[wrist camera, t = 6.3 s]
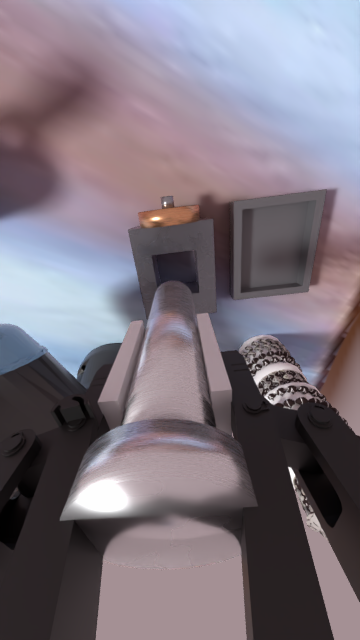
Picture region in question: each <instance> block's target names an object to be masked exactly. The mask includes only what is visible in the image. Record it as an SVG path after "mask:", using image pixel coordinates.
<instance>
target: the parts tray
mask: <svg viewBox="0 0 360 640" xmlns="http://www.w3.org/2000/svg"><path fill="white" fill-rule="evenodd" d="M326 190H327V189H325V190H318V191H310V192H303V193H295V194H287V195H280V196H272V197H264V198H257V199H249V200H242V201H234V202H230V295H231V297H232V298H233V300H239V299H248V298H257V297H267V296H276V295H285V294H294V293H303V292H308V291H309V286H310V280H311V274H312V269H313V263H314V258H315V252H316V246H317V241H318V235H319V230H320V224H321V218H322V213H323V207H324V202H325V196H326Z"/></svg>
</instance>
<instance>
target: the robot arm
mask: <svg viewBox="0 0 360 640" xmlns="http://www.w3.org/2000/svg"><path fill="white" fill-rule="evenodd" d="M196 316H197V327H198V332H199V338H200V343H201V349H202V354H203V360H204V365H205V371H206V376H207V382H208V387H209V393H210V398H211V404H212V409H213V412H214V417H215V422H216V428H217V429H219V430H222V431H224V432H225V433H227V434H229V435H230V436H232V432H233V436H234V439H236V440H237V441H238V442H239V443H240V444H241V446H242V450H243V454H244V457H245V461H246V464H247V468H248V472H249V475H250V479H251V482H252V486H253V490H254V493H255V497H256V500H257V504H258V506H257V507H243V517H242V538H241V556H242V572H243V587H244V603H245V619H246V634H247V640H334V638H333V634H332V630H331V626H330V623H329V619H328V616H327V612H326V608H325V604H324V600H323V596H322V593H321V589H320V585H319V581H318V577H317V574H316V570H315V566H314V562H313V559H312V555H311V551H310V547H309V544H308V540H307V536H306V532H305V529H304V525H303V521H302V517H301V514H300V510H299V506H298V502H297V498H296V495H295V491H294V487H293V483H292V479H291V476H290V472H289V468H288V467H290V468H292V470H293V472H294V474H295V476H296V478H297V480H298V482H299V484H300V486H301V488H302V490H303V492H304V494H305V496H306V498H307V500H308V502H309V504H310V506H311V507H312V509H313V511H314V513H315V515H316V517H317V519H318V521H319V523H320V525H321V527H322V529H323V531H324V533H325V535H326V537H327V539H328V541H329V543H330V545H331V547H332V549H333V551H334V553H335V555H336V557H337V559H338V561H339V563H340V565H341V566H342V568H343V570H344V572H345V574H346V576H347V578H348V580H349V582H350V584H351V586H352V588H353V590H354V592H355V594H356V596H357V598H358V600H359V602H360V439H359V438H358V437H357V436H356V435H355V433H354V432H353V431H352V430H351V429H350V428H349V427H348V425H347V424H346V423H345V422H344V421H343V420H342V419H341V417H340V416H339V415H338V414H337V413H335V412H334V411H333V410H332V409H330V408H328V407H326V406H325V405H322V404H318V403H312V402H307V403H304V404H301V405H300V407H299V408H298V410H294V409H288V408H283V407H279V406H276V405H273V404H271V403H270V402H269V401H268V400H267V399H266V398H265V397H263V396H262V395H261V393H260V391H259V389H258V387H257V385H256V383H255V381H254V378H253V376H252V374H251V372H250V370H249V368H248V365H247V364H246V361H245V359H244V357H243V355H241V354H240V353H239V352H238V351H237V350H235V351H225V352H220V350H219V346H218V343H217V340H216V337H215V334H214V330H213V327H212V324H211V321H210V318H209V314H208V313H202V314H196ZM144 334H145V328H144V324H143V320H139V321H131V323H130V326H129V328H128V330H127V333H126V335H125V338H124V340H123V342H122V344H108V345H103V346H100V347H98V348H96V349H94V350H92V351H91V352H90V353H89V354H88V355H87V356H86V357H85V359H84V361H83V362H82V364H81V365H80V368H79V370H78V374H77V379H76V378H75V377H74V376H73V375H72V374H70V373H69V372H68V371H67V370H66V369H65V368H64V367H63V366H62V365H61V364H60V363H59V362H58V361H57V360H56V359H55V358H54V357H53V356H52V355H51V354H50V353H49V352H48V349H47V348H46V347H44V346H41V345H40V344H38V343H37V342H36V341H35V340H34V339H33V338H32V337H30V336H29V335H28V334H27V333H26V332H25V331H23V330H22V329H21V328H19V327H18V326H15V325H12V324H0V640H95V638H96V628H97V617H98V605H99V595H100V585H101V574H102V564H103V556H102V555H101V554H100V552H99V551H98V550H97V549H96V547H95V546H94V545H93V543H92V542H91V541H90V540H89V538H88V537H87V536H86V535H85V533H84V532H83V531H82V529H81V528H80V527H79V526H78V524H77V523H76V522H75V521H74V520H65V521H60V517H61V514H62V512H63V509H64V507H65V504H66V501H67V499H68V496H69V493H70V491H71V488H72V486H73V483H74V480H75V478H76V475H77V472H78V470H79V467H80V465H81V462H82V459H83V457H84V455H85V453H86V451H87V449H88V448H89V446H90V445H91V444H92V443H93V442H94V441H95V440H96V439H97V438H99V437H100V436H102V435H103V434H105V433H106V432H108V431H110V430H112V429H114V428H117V427H119V426H120V424H121V420H122V416H123V413H124V409H125V405H126V401H127V398H128V394H129V390H130V386H131V383H132V379H133V375H134V371H135V368H136V364H137V360H138V356H139V353H140V349H141V345H142V341H143V337H144Z"/></svg>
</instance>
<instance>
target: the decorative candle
mask: <svg viewBox="0 0 360 640" xmlns="http://www.w3.org/2000/svg"><path fill="white" fill-rule="evenodd" d="M238 352H239V353H240V354H241V355H243V357H244V359H245V361H246V364H247V365H248V368H249V370H250V372H251V374H252V376H253V378H254V381H255V383H256V385H257V387H258V389H259V391H260V393H261V395H262V396H263V397H265V398H266V399H267V400H268V401H269V402H270V403H271V404H273V405H276V406H279V407H283V408H288V409H294V410H298V408H299V407H300V405H301V404H304V403H307V402H312V403H318V404H322V405H325V406H326V407H328V408H330V409H332V410H333V411H334V412H335V413H337V414H338V415H339V412H338V410H337V409H336V408H332V406H331V404H330V403H329V402H327V401H326V397H325V396H324V395H323V394H321V393H320V392H319V391H318V390H317V388H316V387H315V386H312V385H310V384H309V383H308V382H307V379H306V377H305V376H304V375H303V373H302V370H301V369H299V368H300V365H299V364H298V363H295V359H294V358H293V357H291V356H290V353H289V351H288V350H286V348H285V346H284V345H283V344H281V342H280V341H279V340H278V339H277V338H275V337H273V336H271V335H258V336H254V337H251V338H250V339H248V340H247V341H245V342H244V343H243V344H242V346H241V347H240V348H239V351H238ZM341 419H342V420H343V421H344V422H345V423H346V424H347V425H348V423H347V421H346V420H345V419H344V418H341ZM348 427H349V426H348ZM349 428H350V429H351V430H352V428H351V427H349ZM356 436H357V435H356ZM357 437H358V438H359V439H360V436H357ZM288 468H289V472H290V476H291V479H292V483H293V487H294V489H295V490H296V492H297V494H298V495H299V500H300V502H301V504H302V507H303V509H304V510H305V512H306V514H307V518H306V520H307V526H309V527H310V528H311V529H313V530H315V531H318V532H320V533H321V534H322V535H323V536H324V537H325V538H326V539H327V537H326V535H325V533H324V531H323V529H322V527H321V525H320V523H319V521H318V519H317V517H316V515H315V513H314V511H313V509H312V507H311V506H310V504H309V502H308V500H307V498H306V496H305V494H304V492H303V490H302V488H301V486H300V484H299V482H298V480H297V478H296V476H295V474H294V472H293V470H292V468H290V467H288ZM327 540H328V539H327Z"/></svg>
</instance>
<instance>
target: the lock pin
mask: <svg viewBox="0 0 360 640" xmlns="http://www.w3.org/2000/svg"><path fill="white" fill-rule="evenodd" d="M257 506H258V504H257V500H256V497H255V493H254V490H253V486H252V482H251V479H250V475H249V472H248V468H247V464H246V461H245V457H244V454H243V450H242V446H241V444H240V443H239V442H238V441H237V440H236V439H234V438H233V437H232V436H230V435H229V434H227V433H225V432H224V431H222V430H219V429H217V428H216V422H215V417H214V412H213V409H212V404H211V398H210V393H209V387H208V382H207V376H206V371H205V365H204V360H203V354H202V349H201V343H200V338H199V332H198V327H197V320H196V314H195V309H194V303H193V298H192V293H191V291H190V289H189V288H188V286H186V285H185V284H184V283H182V282H180V281H174V280H172V281H167V282H165V283H163V284H161V285H160V286H159V287H158V289H157V290H156V293H155V296H154V300H153V304H152V307H151V311H150V315H149V319H148V322H147V326H146V330H145V334H144V337H143V341H142V345H141V349H140V353H139V356H138V360H137V364H136V368H135V371H134V375H133V379H132V383H131V386H130V390H129V394H128V398H127V401H126V405H125V409H124V413H123V416H122V420H121V424H120V426H119V427H117V428H114V429H112V430H110V431H108V432H106V433H105V434H103V435H102V436H100V437H99V438H97V439H96V440H95V441H94V442H93V443H92V444H91V445H90V446H89V448H88V449H87V451H86V453H85V455H84V457H83V459H82V462H81V465H80V467H79V470H78V472H77V475H76V478H75V480H74V483H73V486H72V488H71V491H70V493H69V496H68V499H67V501H66V504H65V507H64V509H63V512H62V514H61V517H60V521H65V520H74V521H75V522H76V523H77V524H78V526H79V527H80V528H81V529H82V531H83V532H84V533H85V535H86V536H87V537H88V538H89V540H90V541H91V542H92V543H93V545H94V546H95V547H96V549H97V550H98V551H99V552H100V554H101V555H102V556H103V562H107V563H110V564H114V565H119V566H125V567H132V568H141V569H183V568H193V567H200V566H205V565H210V564H214V563H219V562H222V561H225V560H228V559H231V558H234V557H236V556H238V555H241V538H242V517H243V507H257Z"/></svg>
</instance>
